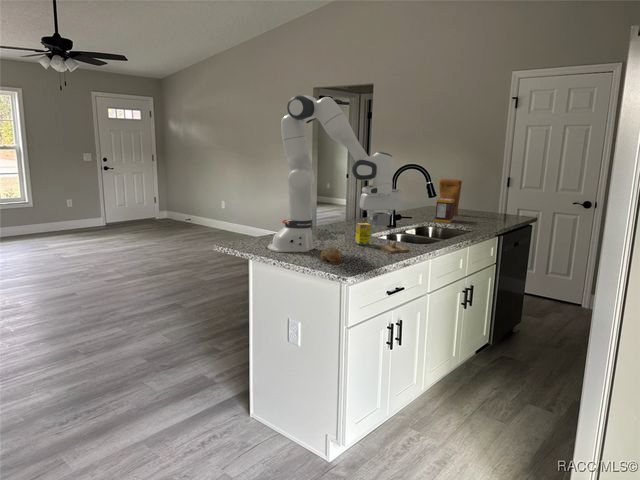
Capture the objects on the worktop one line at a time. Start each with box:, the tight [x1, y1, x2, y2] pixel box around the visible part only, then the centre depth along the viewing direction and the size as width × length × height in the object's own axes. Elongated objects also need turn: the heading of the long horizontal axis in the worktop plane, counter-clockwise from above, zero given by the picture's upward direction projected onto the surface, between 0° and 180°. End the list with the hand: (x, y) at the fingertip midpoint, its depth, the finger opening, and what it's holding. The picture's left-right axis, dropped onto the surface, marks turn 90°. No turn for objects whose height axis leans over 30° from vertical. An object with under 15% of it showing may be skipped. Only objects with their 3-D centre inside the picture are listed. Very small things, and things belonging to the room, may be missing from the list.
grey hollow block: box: [369, 211, 391, 227], centre depth 209 cm, size 6×6×5 cm
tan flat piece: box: [378, 240, 410, 254], centre depth 229 cm, size 11×11×4 cm
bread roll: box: [319, 247, 343, 265], centre depth 202 cm, size 10×10×8 cm
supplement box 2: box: [434, 198, 455, 223], centre depth 331 cm, size 10×15×16 cm
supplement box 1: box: [355, 222, 372, 246], centre depth 239 cm, size 6×6×11 cm
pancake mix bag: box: [437, 178, 463, 217], centre depth 361 cm, size 7×19×28 cm, turn 44°
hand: (379, 219), depth 209 cm, fingers closed on grey hollow block, 6 cm apart
